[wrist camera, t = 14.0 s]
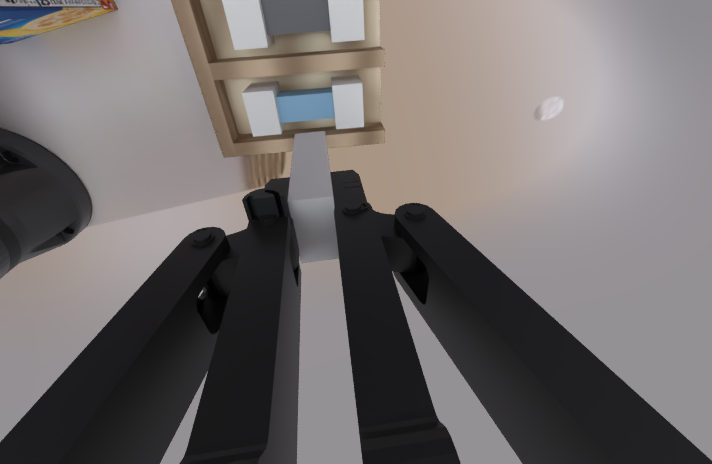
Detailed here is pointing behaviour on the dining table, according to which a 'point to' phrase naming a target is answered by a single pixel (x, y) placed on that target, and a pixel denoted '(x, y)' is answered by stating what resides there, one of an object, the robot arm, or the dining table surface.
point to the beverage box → (45, 16)
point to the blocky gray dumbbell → (292, 20)
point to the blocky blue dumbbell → (304, 105)
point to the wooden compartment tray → (279, 76)
